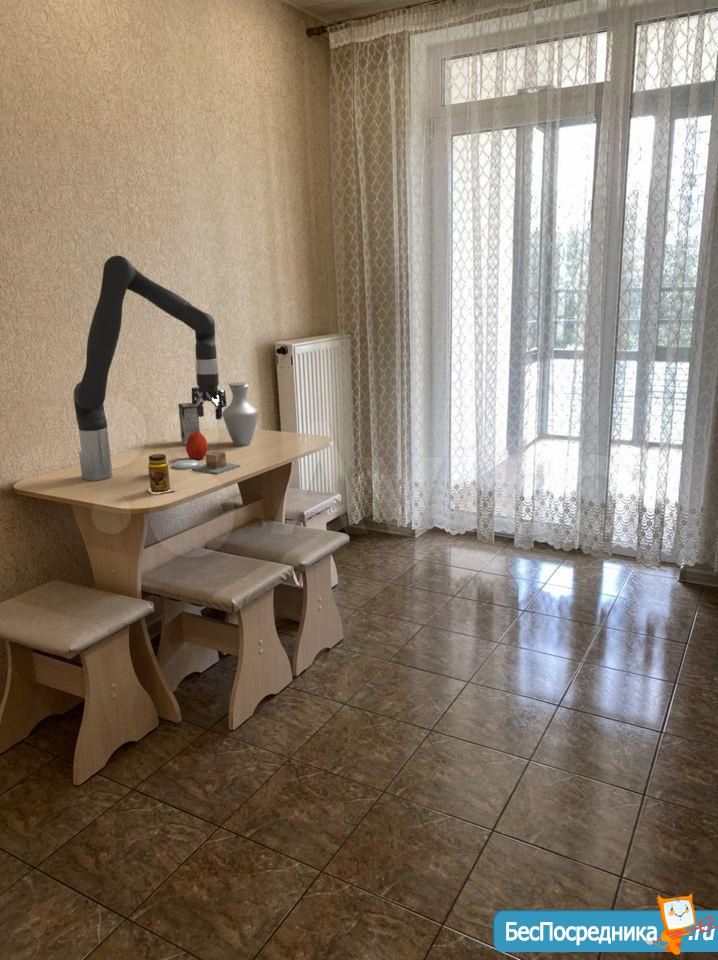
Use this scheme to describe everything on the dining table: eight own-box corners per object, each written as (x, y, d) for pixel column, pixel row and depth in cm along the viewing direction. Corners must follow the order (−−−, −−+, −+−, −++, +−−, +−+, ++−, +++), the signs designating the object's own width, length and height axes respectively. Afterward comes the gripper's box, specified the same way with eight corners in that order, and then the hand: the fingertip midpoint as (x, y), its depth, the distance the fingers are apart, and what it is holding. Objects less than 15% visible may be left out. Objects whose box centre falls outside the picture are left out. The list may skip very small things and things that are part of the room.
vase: (263, 440, 299) (261, 381, 293) (254, 448, 286) (251, 386, 279) (230, 439, 301) (227, 380, 294) (219, 447, 288) (215, 386, 281)
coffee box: (180, 441, 299) (177, 403, 295) (196, 440, 302) (193, 402, 297) (185, 446, 291) (182, 407, 287) (201, 444, 294) (198, 405, 289)
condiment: (153, 496, 226) (150, 459, 223) (144, 489, 233) (141, 454, 229) (175, 491, 230) (172, 455, 226) (166, 485, 237) (163, 450, 233)
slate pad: (217, 474, 249) (217, 472, 249) (192, 469, 255) (192, 468, 255) (240, 466, 259) (240, 465, 259) (215, 462, 265) (215, 460, 265)
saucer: (186, 470, 255) (186, 467, 255) (168, 467, 259) (168, 463, 259) (204, 464, 262) (203, 461, 262) (186, 461, 267) (185, 458, 266)
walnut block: (216, 469, 254) (215, 455, 252) (206, 467, 256) (205, 453, 255) (226, 465, 258) (225, 452, 256) (216, 464, 260) (215, 450, 259)
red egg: (203, 461, 266) (201, 433, 263) (182, 461, 268) (180, 433, 265) (212, 456, 274) (210, 429, 271) (192, 455, 276) (189, 428, 273)
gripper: (184, 371, 249) (187, 417, 253) (214, 374, 242) (217, 421, 246) (199, 369, 255) (202, 414, 259) (229, 372, 248) (232, 418, 252)
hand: (209, 417), depth 253 cm, fingers open, 8 cm apart
